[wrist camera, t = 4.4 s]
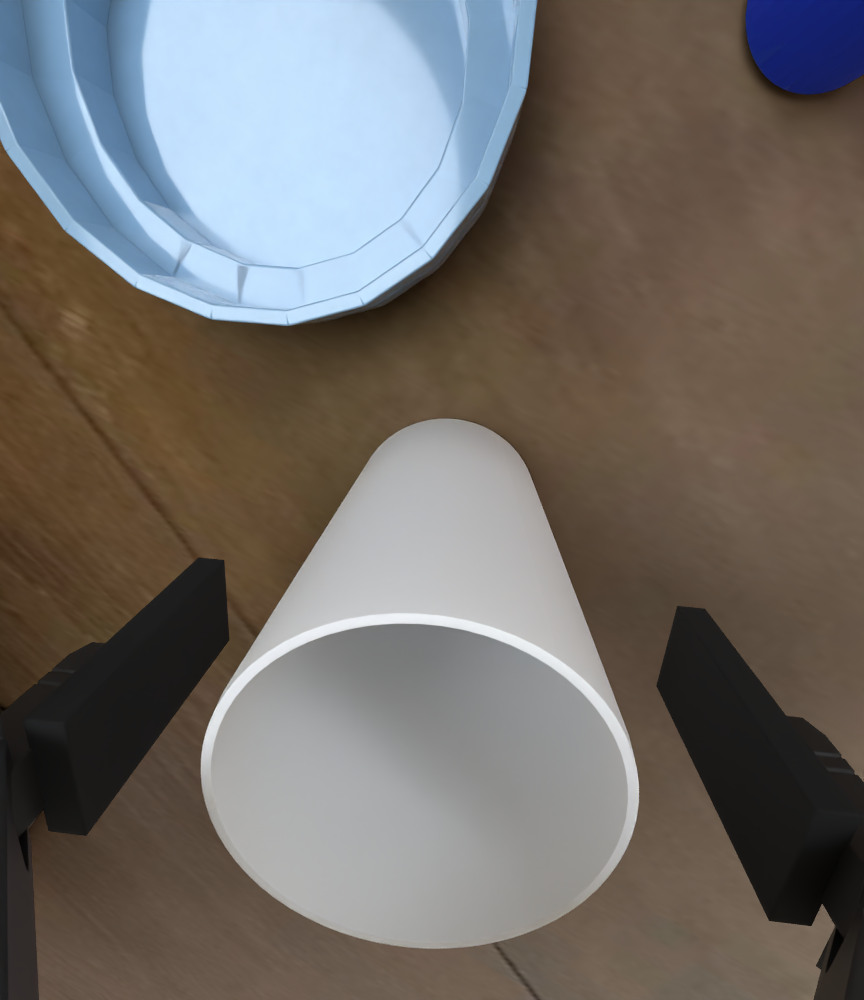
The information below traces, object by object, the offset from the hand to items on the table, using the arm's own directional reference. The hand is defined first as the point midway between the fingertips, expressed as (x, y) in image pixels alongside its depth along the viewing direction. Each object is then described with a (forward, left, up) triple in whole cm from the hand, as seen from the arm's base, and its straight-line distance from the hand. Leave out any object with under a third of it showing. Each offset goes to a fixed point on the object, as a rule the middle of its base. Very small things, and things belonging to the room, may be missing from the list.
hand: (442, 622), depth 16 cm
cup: (0, 0, -10) cm, 10 cm away
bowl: (-7, +16, -10) cm, 20 cm away
